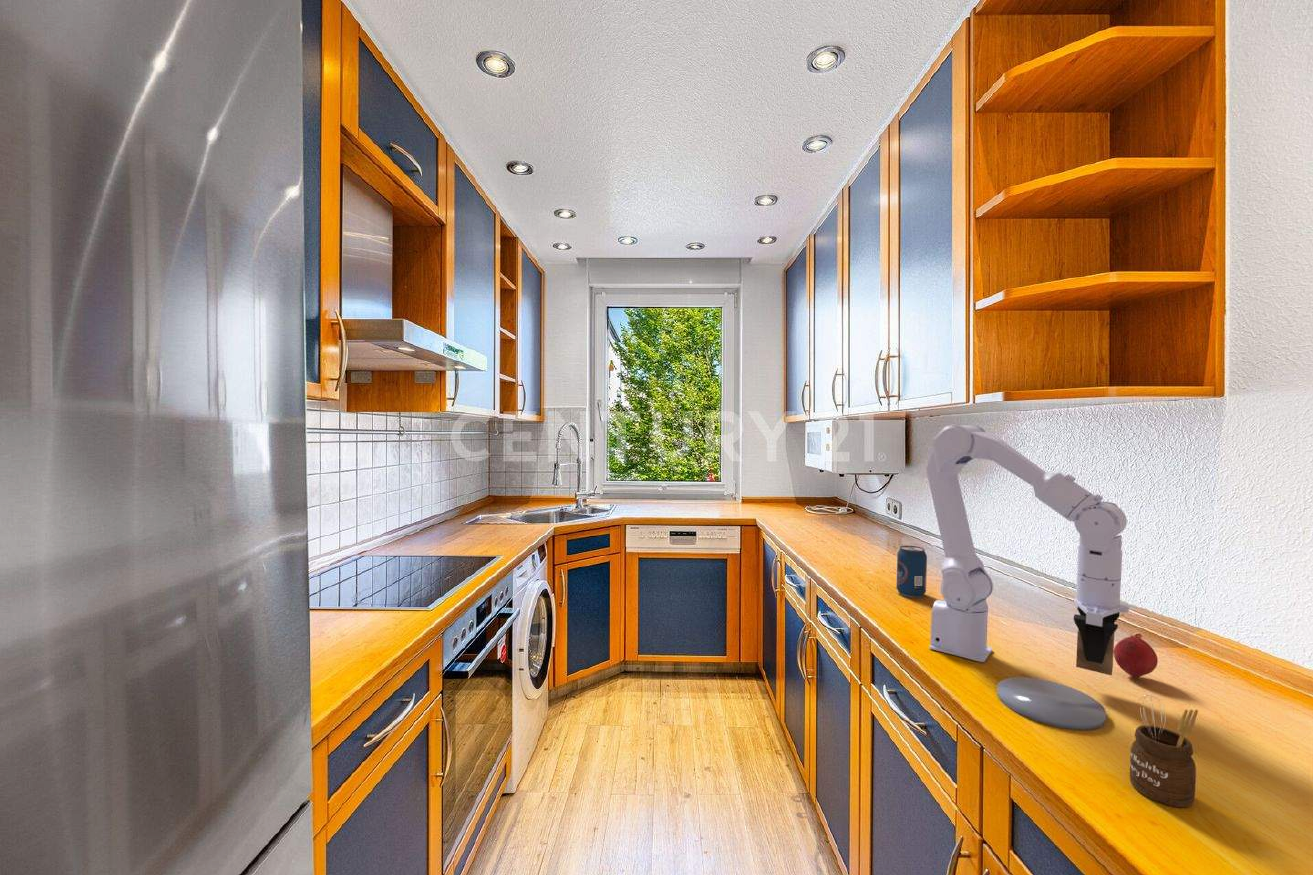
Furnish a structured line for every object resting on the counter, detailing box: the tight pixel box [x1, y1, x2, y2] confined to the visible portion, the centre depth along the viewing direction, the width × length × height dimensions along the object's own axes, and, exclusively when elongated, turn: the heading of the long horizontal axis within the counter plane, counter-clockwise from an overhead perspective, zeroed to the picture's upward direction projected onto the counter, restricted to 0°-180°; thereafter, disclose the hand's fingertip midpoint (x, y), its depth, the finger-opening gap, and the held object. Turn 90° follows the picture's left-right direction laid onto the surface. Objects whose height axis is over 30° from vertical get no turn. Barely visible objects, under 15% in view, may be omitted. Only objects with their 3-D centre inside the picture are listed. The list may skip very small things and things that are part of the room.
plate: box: [996, 676, 1107, 731], centre depth 89 cm, size 14×14×1 cm
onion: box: [1113, 632, 1159, 679], centre depth 98 cm, size 6×6×8 cm
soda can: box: [896, 545, 928, 599], centre depth 144 cm, size 7×7×12 cm
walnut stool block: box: [1075, 630, 1115, 676], centre depth 93 cm, size 5×5×6 cm
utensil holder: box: [1129, 694, 1199, 808], centre depth 68 cm, size 6×6×12 cm
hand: (1094, 656), depth 93 cm, fingers closed on walnut stool block, 5 cm apart
